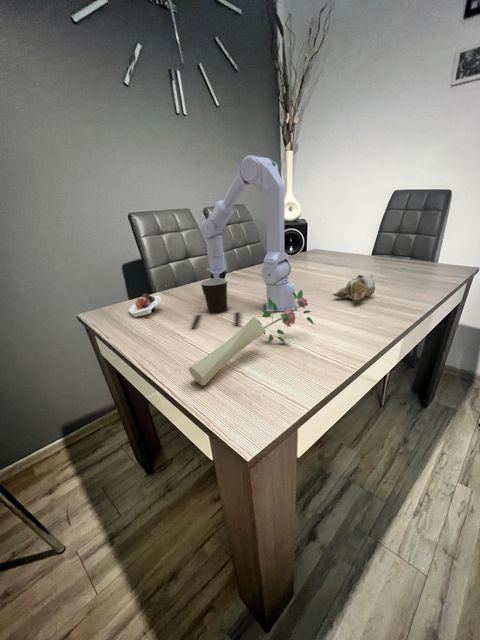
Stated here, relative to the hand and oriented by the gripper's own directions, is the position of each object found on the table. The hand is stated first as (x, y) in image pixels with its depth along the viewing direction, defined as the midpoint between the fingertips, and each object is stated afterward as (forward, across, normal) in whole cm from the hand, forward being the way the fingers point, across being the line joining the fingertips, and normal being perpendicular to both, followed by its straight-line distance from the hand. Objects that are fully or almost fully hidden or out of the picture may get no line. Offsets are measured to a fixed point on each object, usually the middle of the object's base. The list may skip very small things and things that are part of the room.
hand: (220, 292), depth 105 cm
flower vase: (+3, +45, +12) cm, 47 cm away
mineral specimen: (+3, +10, -26) cm, 28 cm away
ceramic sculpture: (+3, +11, +50) cm, 51 cm away
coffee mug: (+3, +11, 0) cm, 11 cm away
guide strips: (+2, +22, 0) cm, 22 cm away
